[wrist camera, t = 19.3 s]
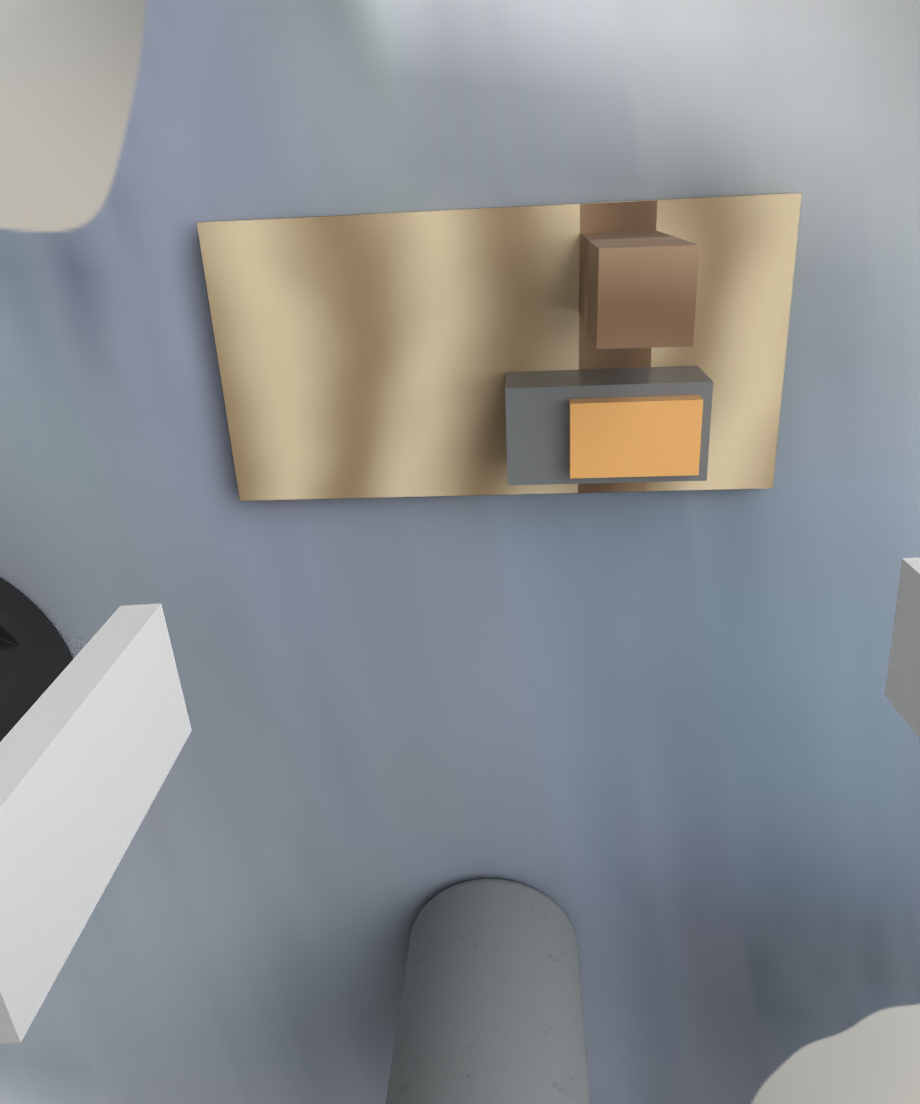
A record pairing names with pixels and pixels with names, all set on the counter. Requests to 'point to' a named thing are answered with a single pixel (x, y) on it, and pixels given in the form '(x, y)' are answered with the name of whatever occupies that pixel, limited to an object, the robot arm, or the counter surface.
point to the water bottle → (490, 1002)
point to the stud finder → (608, 425)
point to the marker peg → (638, 289)
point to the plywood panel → (472, 339)
